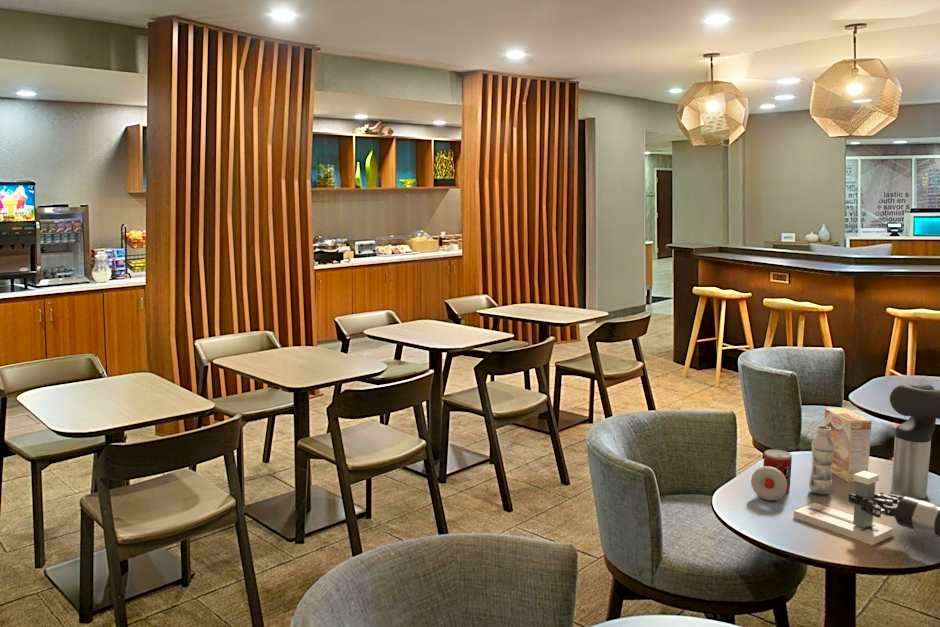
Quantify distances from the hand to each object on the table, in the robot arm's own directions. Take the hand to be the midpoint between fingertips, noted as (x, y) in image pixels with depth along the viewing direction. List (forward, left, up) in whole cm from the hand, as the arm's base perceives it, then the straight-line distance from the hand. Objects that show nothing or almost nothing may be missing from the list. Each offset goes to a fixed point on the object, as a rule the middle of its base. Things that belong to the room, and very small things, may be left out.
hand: (854, 495), depth 213 cm
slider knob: (0, +3, -7) cm, 8 cm away
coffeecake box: (-40, -25, -10) cm, 48 cm away
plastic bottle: (-18, -20, -10) cm, 28 cm away
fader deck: (0, -3, -9) cm, 10 cm away
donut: (-1, -26, -10) cm, 28 cm away
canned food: (-11, -30, -10) cm, 33 cm away
